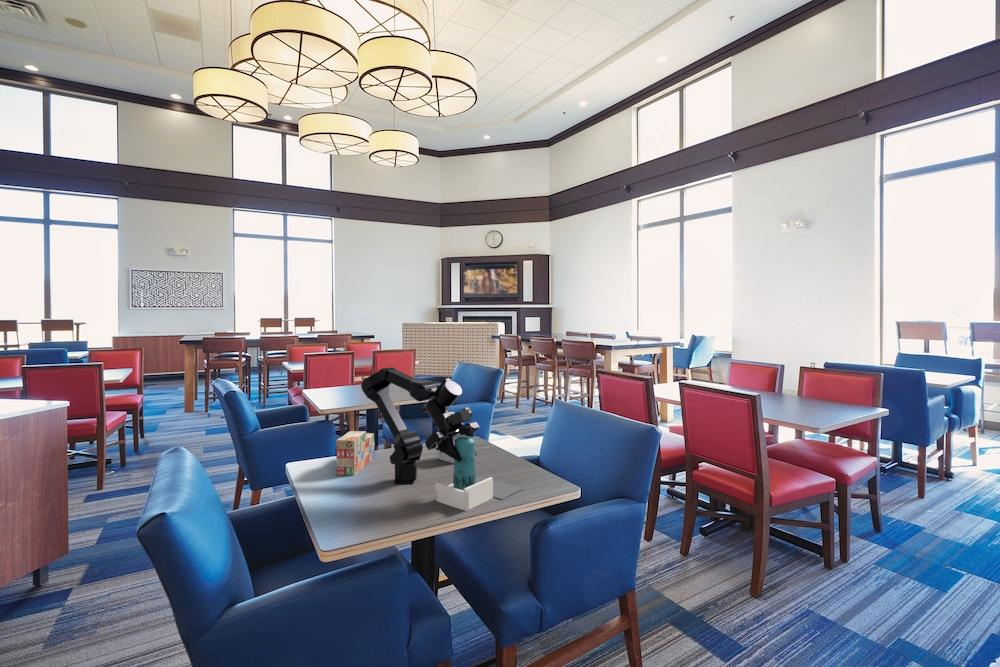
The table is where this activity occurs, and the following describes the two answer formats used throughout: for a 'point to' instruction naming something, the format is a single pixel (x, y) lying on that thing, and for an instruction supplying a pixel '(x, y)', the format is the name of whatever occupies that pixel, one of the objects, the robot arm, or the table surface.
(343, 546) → the table surface
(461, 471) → the beverage bottle
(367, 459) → the stack of blocks
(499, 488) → the mat
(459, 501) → the open-sided box
